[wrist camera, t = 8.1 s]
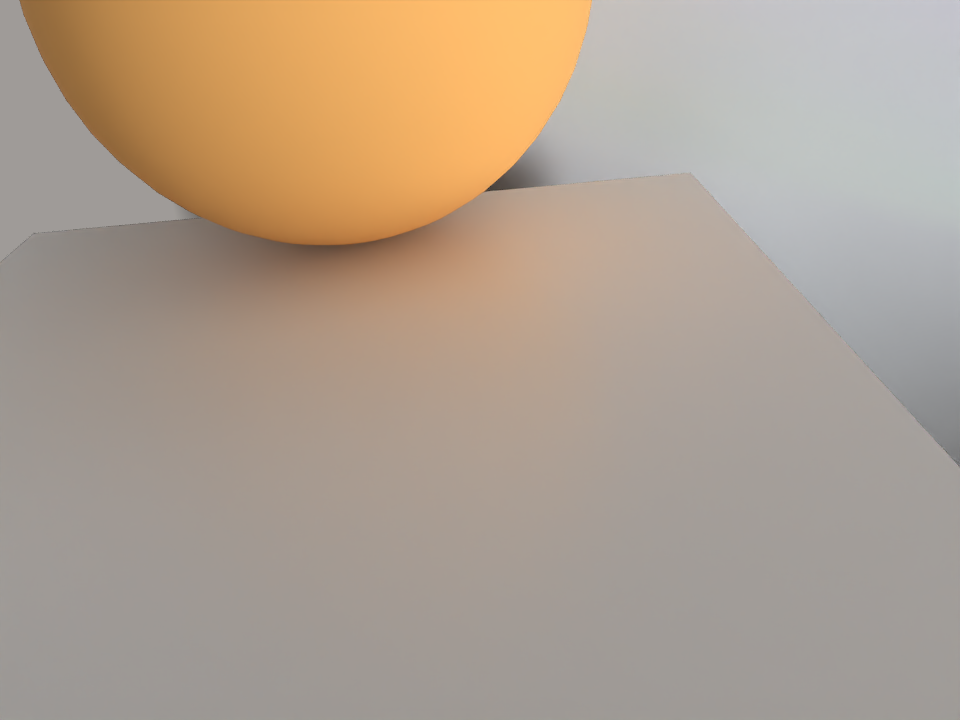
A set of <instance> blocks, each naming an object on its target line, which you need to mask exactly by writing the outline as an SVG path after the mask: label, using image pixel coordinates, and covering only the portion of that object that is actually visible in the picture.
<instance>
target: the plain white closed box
mask: <svg viewBox="0 0 960 720" xmlns="http://www.w3.org/2000/svg"><path fill="white" fill-rule="evenodd" d="M0 720H960V467H959V466H958V465H957V464H956V463H955V461H954V460H953V459H952V458H951V457H950V456H949V455H948V454H947V453H946V452H945V451H944V449H943V448H942V447H941V446H940V445H939V444H938V443H937V442H936V441H935V440H934V439H933V437H932V436H931V435H930V434H929V433H928V432H927V431H926V430H925V429H924V428H923V426H922V425H921V424H920V423H919V422H918V421H917V420H916V419H915V418H914V417H913V416H912V414H911V413H910V412H909V411H908V410H907V409H906V408H905V407H904V406H903V405H902V404H901V402H900V401H899V400H898V399H897V398H896V397H895V396H894V395H893V394H892V393H891V391H890V390H889V389H888V388H887V387H886V386H885V385H884V384H883V383H882V382H881V381H880V379H879V378H878V377H877V376H876V375H875V374H874V373H873V372H872V371H871V370H870V368H869V367H868V366H867V365H866V364H865V363H864V362H863V361H862V360H861V359H860V358H859V356H858V355H857V354H856V353H855V352H854V351H853V350H852V349H851V348H850V347H849V346H848V344H847V343H846V342H845V341H844V340H843V339H842V338H841V337H840V336H839V335H838V333H837V332H836V331H835V330H834V329H833V328H832V327H831V326H830V325H829V324H828V323H827V321H826V320H825V319H824V318H823V317H822V316H821V315H820V314H819V313H818V312H817V311H816V309H815V308H814V307H813V306H812V305H811V304H810V303H809V302H808V301H807V300H806V298H805V297H804V296H803V295H802V294H801V293H800V292H799V291H798V290H797V289H796V288H795V286H794V285H793V284H792V283H791V282H790V281H789V280H788V279H787V278H786V277H785V276H784V274H783V273H782V272H781V271H780V270H779V269H778V268H777V267H776V266H775V265H774V263H773V262H772V261H771V260H770V259H769V258H768V257H767V256H766V255H765V254H764V253H763V251H762V250H761V249H760V248H759V247H758V246H757V245H756V244H755V243H754V242H753V241H752V239H751V238H750V237H749V236H748V235H747V234H746V233H745V232H744V231H743V230H742V228H741V227H740V226H739V225H738V224H737V223H736V222H735V221H734V220H733V219H732V218H731V216H730V215H729V214H728V213H727V212H726V211H725V210H724V209H723V208H722V207H721V206H720V204H719V203H718V202H717V201H716V200H715V199H714V198H713V197H712V196H711V195H710V193H709V192H708V191H707V190H706V189H705V188H704V187H703V186H702V185H701V184H700V183H699V181H698V180H697V179H696V178H695V177H694V176H693V175H692V174H691V173H681V174H670V175H660V176H649V177H638V178H627V179H616V180H605V181H595V182H584V183H573V184H562V185H551V186H541V187H530V188H519V189H508V190H497V191H486V192H483V193H481V194H480V195H479V196H477V197H476V198H474V199H473V200H471V201H470V202H468V203H466V204H465V205H463V206H462V207H460V208H458V209H457V210H455V211H453V212H452V213H450V214H448V215H446V216H445V217H443V218H441V219H439V220H437V221H435V222H432V223H430V224H428V225H425V226H422V227H420V228H417V229H414V230H411V231H408V232H405V233H402V234H399V235H396V236H392V237H389V238H385V239H380V240H376V241H370V242H365V243H357V244H347V245H302V244H290V243H283V242H277V241H273V240H268V239H264V238H260V237H256V236H252V235H247V234H243V233H240V232H237V231H234V230H231V229H228V228H226V227H223V226H221V225H219V224H216V223H214V222H211V221H209V220H207V219H204V218H194V219H184V220H173V221H162V222H151V223H140V224H130V225H119V226H108V227H98V228H86V229H75V230H65V231H54V232H44V233H34V234H33V235H31V236H30V237H29V238H28V239H27V240H25V241H24V242H23V243H22V244H21V245H20V246H19V247H17V248H16V249H15V250H14V251H13V252H12V253H10V254H9V255H8V256H7V257H6V258H5V259H3V260H2V261H1V262H0Z"/></svg>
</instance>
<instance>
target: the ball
mask: <svg viewBox="0 0 960 720" xmlns="http://www.w3.org/2000/svg"><path fill="white" fill-rule="evenodd" d="M20 3H21V7H22V10H23V14H24V17H25V19H26V21H27V24H28V26H29V29H30V31H31V33H32V36H33V38H34V40H35V43H36V45H37V47H38V50H39V52H40V54H41V57H42V58H43V61H44V63H45V64H46V66H47V68H48V70H49V71H50V73H51V75H52V76H53V78H54V80H55V82H56V83H57V85H58V87H59V89H60V90H61V92H62V94H63V95H64V97H65V99H66V100H67V102H68V103H69V104H70V106H71V107H72V108H73V110H74V111H75V112H76V114H77V115H78V116H79V118H80V119H81V120H82V122H83V123H84V124H85V125H86V127H87V128H88V129H89V131H90V132H91V133H92V134H93V135H94V136H95V138H97V140H98V141H99V142H100V143H101V144H102V145H103V146H104V147H105V148H106V149H107V150H108V151H109V152H110V153H111V154H112V155H113V156H114V157H115V158H116V159H117V160H118V161H119V162H120V163H121V164H123V165H124V166H125V167H126V168H127V169H129V170H130V171H131V172H132V173H134V174H135V175H136V176H137V177H139V178H140V179H141V180H143V181H144V182H145V183H146V184H147V185H149V186H150V187H151V188H152V189H154V190H155V191H156V192H158V193H159V194H161V195H163V196H164V197H166V198H168V199H169V200H171V201H173V202H174V203H176V204H178V205H179V206H181V207H183V208H184V209H186V210H188V211H190V212H192V213H194V214H196V215H197V216H199V217H202V218H204V219H207V220H209V221H211V222H214V223H216V224H219V225H221V226H223V227H226V228H228V229H231V230H234V231H237V232H240V233H243V234H247V235H252V236H256V237H260V238H264V239H268V240H273V241H277V242H283V243H290V244H302V245H347V244H357V243H365V242H370V241H376V240H380V239H385V238H389V237H392V236H396V235H399V234H402V233H405V232H408V231H411V230H414V229H417V228H420V227H422V226H425V225H428V224H430V223H432V222H435V221H437V220H439V219H441V218H443V217H445V216H446V215H448V214H450V213H452V212H453V211H455V210H457V209H458V208H460V207H462V206H463V205H465V204H466V203H468V202H470V201H471V200H473V199H474V198H476V197H477V196H479V195H480V194H481V193H483V192H484V191H485V190H486V189H488V188H489V187H490V186H491V185H492V184H493V183H494V182H496V181H497V180H498V179H499V178H500V177H501V176H502V175H503V174H505V173H506V172H507V171H508V170H509V169H510V168H511V167H512V166H513V165H514V164H515V163H516V162H517V161H518V160H519V158H520V157H521V156H522V155H523V154H524V152H525V151H526V150H527V149H528V148H529V146H530V145H531V144H532V143H533V142H534V140H535V139H536V138H537V136H538V135H539V133H540V132H541V131H542V129H543V127H544V126H545V124H546V123H547V121H548V119H549V118H550V116H551V115H552V113H553V111H554V110H555V108H556V107H557V105H558V103H559V102H560V100H561V98H562V96H563V93H564V91H565V89H566V87H567V84H568V82H569V80H570V78H571V76H572V73H573V71H574V69H575V66H576V63H577V59H578V56H579V53H580V50H581V46H582V43H583V40H584V36H585V33H586V29H587V25H588V20H589V14H590V8H591V3H592V0H20Z"/></svg>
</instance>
